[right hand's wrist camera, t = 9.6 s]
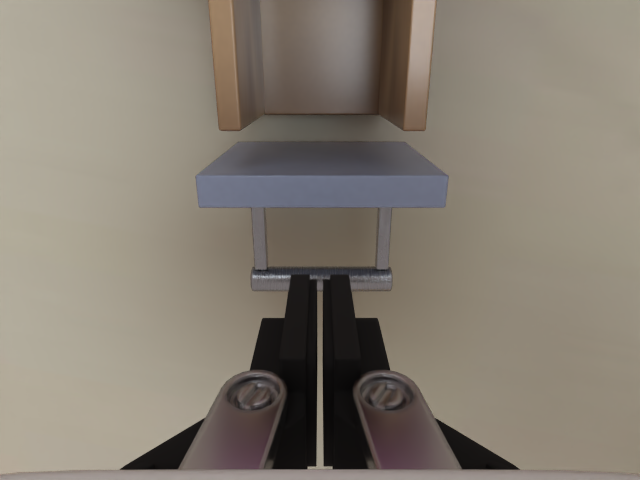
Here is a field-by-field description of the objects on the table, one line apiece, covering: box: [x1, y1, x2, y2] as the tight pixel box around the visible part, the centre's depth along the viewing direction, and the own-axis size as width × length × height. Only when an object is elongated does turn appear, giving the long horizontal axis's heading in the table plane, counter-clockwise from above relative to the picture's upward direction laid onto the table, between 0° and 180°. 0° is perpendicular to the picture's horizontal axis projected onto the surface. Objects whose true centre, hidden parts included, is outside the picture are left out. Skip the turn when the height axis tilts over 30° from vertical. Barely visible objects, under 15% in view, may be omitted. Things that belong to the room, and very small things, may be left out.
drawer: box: [196, 0, 449, 291], centre depth 17 cm, size 26×9×8 cm, turn 0°
